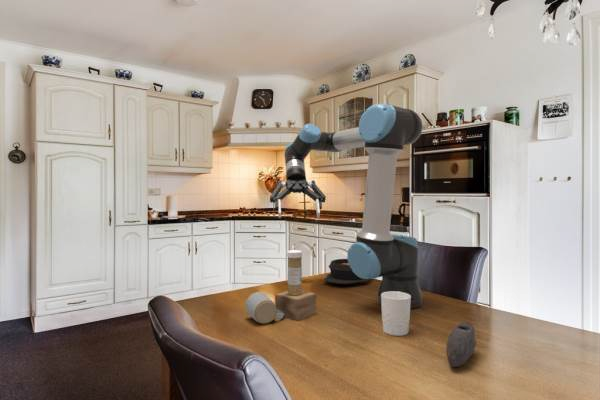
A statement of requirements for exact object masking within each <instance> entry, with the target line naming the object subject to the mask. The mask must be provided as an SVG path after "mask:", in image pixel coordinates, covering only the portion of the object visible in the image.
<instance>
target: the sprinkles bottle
mask: <svg viewBox="0 0 600 400" xmlns="http://www.w3.org/2000/svg"><path fill="white" fill-rule="evenodd" d="M286 254H287V291H288V292H287V293H288V294H289V295H300V294H302V291H303V290H302V280H303V272H302V271H303V265H302V259H303V258H302V257H303V251H302V250H300V249H299V250H298V249H292V250H288V251H287V253H286Z"/></svg>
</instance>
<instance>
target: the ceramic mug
mask: <svg viewBox="0 0 600 400" xmlns="http://www.w3.org/2000/svg"><path fill="white" fill-rule="evenodd" d="M245 310H246V313H247V314H248V315H249V316H250V317H251V318H252V319H253V320H254V321H255V322H257V323H258V324H263V325H265V324H267V325H268V324H270V323H271V322H272V321H273V320H274V319H275V318H276V319H278V320H283V318H284V317H283V316H284V313H282V312H281V311H279V310H277V308H276V305H275V302H274V301H273V300H272V299H271V298H270V297H269V296H268V295H267V294H266V293H264V292H261V291H256V292H253V293H251V294H250V295H249V297H247V299H246V301H245Z"/></svg>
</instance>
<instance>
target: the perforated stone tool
mask: <svg viewBox="0 0 600 400" xmlns="http://www.w3.org/2000/svg"><path fill="white" fill-rule="evenodd" d="M475 333H476V332H475V328H474V325H473V324H472V323H470V322H467V321H461V322H459V323H458V324H457V325H455V327H453V329H452V330H451V332H450V334H449V336H448V338H447V341H446V347H445V349H446V351H445V352H446V358H447V361H448V363H449V365H450V366H451V367H452V368H457V367H461V366H463V365H464V364H465V363H466V362H467V361H468V360H469V359H470V358H471V356H472V355H473V353H474V351H475V349H476V346H477V340H476V337H475Z"/></svg>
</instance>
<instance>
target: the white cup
mask: <svg viewBox="0 0 600 400" xmlns="http://www.w3.org/2000/svg"><path fill="white" fill-rule="evenodd" d="M410 303H411V296H410V295H409V294H407V293H403V292H396V291H389V292H383V293H382V294H381V304H380V305H381V307H380V308H381V321H382V331H383V333H384V334H386V335H389V336H395V337H397V336H398V337H400V336H402V337H403V336H406V335H408V334H409V328H410V327H409V326H410V317H411V308H410Z"/></svg>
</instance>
